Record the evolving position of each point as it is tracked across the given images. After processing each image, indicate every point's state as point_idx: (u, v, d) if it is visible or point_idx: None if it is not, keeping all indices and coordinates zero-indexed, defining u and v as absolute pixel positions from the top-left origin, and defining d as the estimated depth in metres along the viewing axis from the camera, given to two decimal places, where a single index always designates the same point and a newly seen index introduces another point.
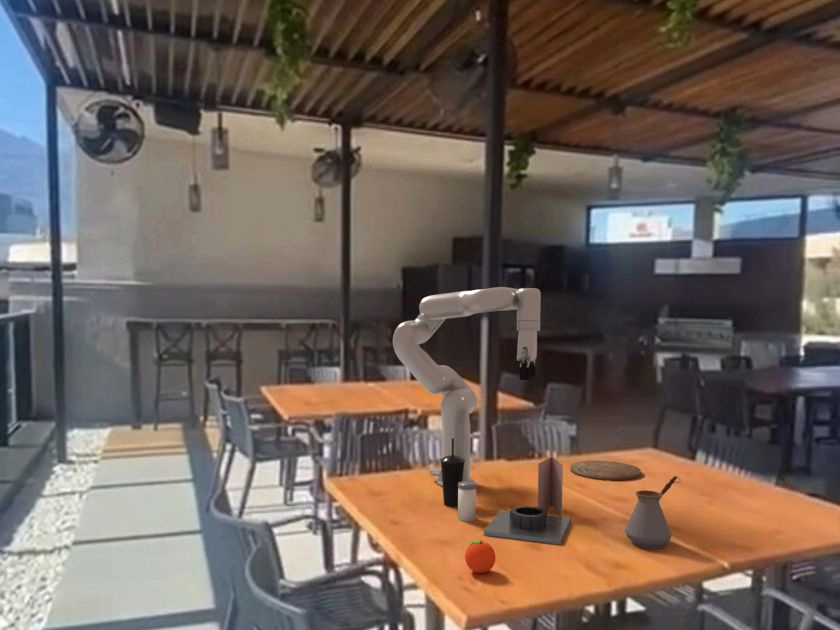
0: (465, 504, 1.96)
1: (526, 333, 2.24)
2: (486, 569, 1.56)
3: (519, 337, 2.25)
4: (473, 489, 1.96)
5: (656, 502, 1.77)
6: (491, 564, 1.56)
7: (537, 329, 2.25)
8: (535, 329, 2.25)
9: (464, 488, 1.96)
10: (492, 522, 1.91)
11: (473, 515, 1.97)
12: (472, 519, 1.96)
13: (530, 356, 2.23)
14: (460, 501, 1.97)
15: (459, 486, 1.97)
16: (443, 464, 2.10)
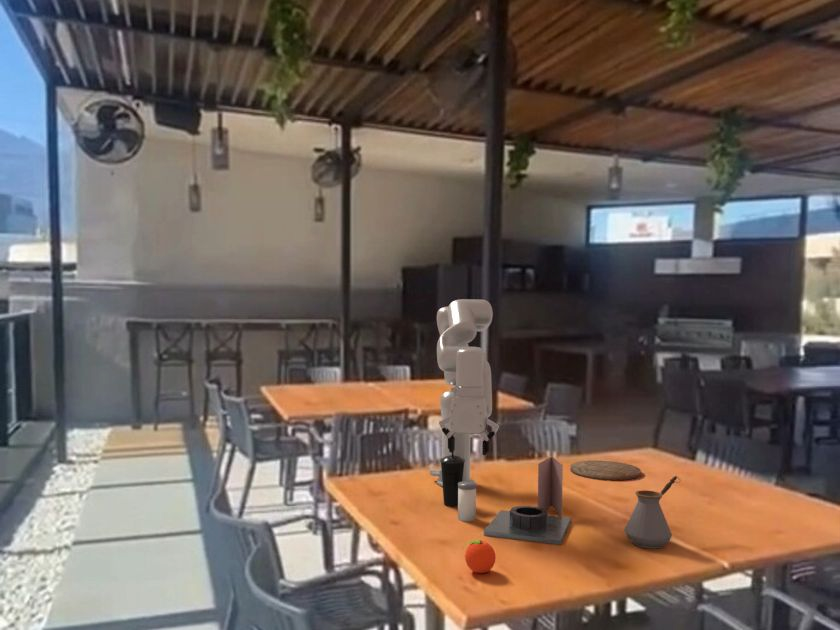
0: (465, 504, 1.96)
1: (484, 401, 1.97)
2: (486, 569, 1.56)
3: (483, 406, 1.95)
4: (473, 489, 1.96)
5: (656, 502, 1.77)
6: (491, 564, 1.56)
7: None
8: None
9: (464, 488, 1.96)
10: (492, 522, 1.91)
11: (473, 515, 1.97)
12: (472, 519, 1.96)
13: None
14: (460, 501, 1.97)
15: (459, 486, 1.97)
16: (443, 464, 2.10)
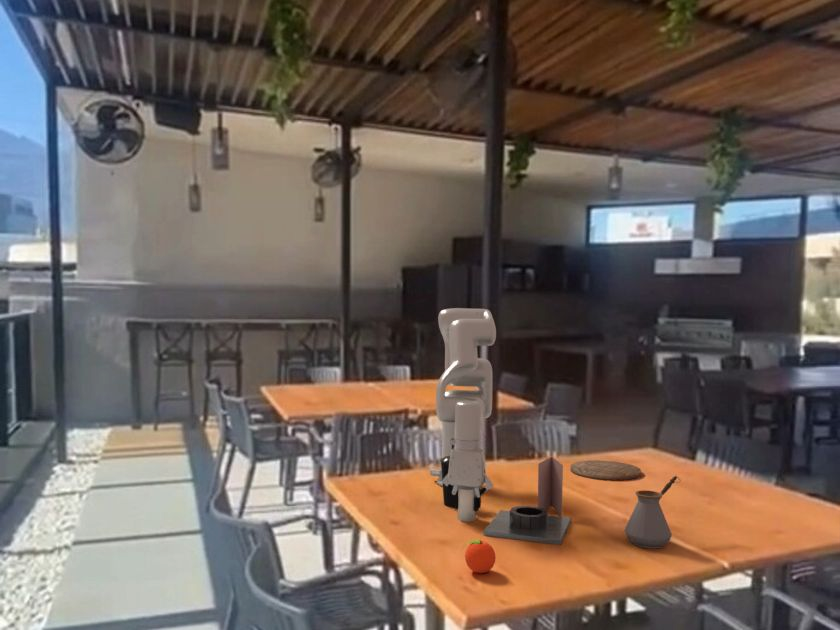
0: (465, 504, 1.96)
1: (483, 454, 1.97)
2: (486, 569, 1.56)
3: (481, 460, 1.95)
4: (473, 489, 1.96)
5: (656, 502, 1.77)
6: (491, 564, 1.56)
7: None
8: None
9: (464, 488, 1.96)
10: (492, 522, 1.91)
11: (473, 515, 1.96)
12: (472, 519, 1.96)
13: None
14: (460, 501, 1.97)
15: (459, 486, 1.97)
16: (443, 464, 2.10)
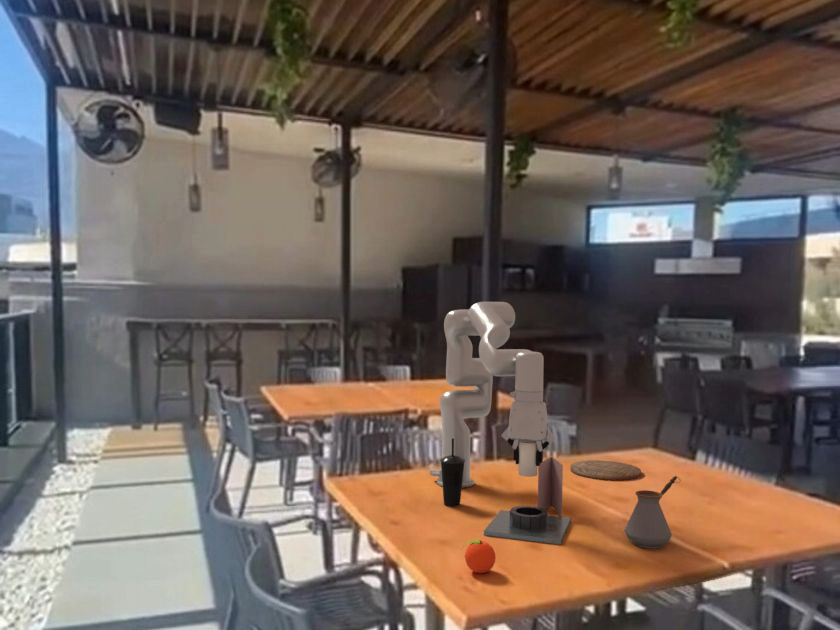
0: (527, 458, 1.88)
1: (545, 406, 1.89)
2: (486, 569, 1.56)
3: (544, 412, 1.87)
4: (535, 442, 1.88)
5: (656, 502, 1.77)
6: (491, 564, 1.56)
7: None
8: None
9: (526, 442, 1.88)
10: (492, 522, 1.91)
11: (535, 470, 1.88)
12: (534, 474, 1.88)
13: None
14: (521, 455, 1.89)
15: (520, 440, 1.89)
16: (443, 464, 2.10)
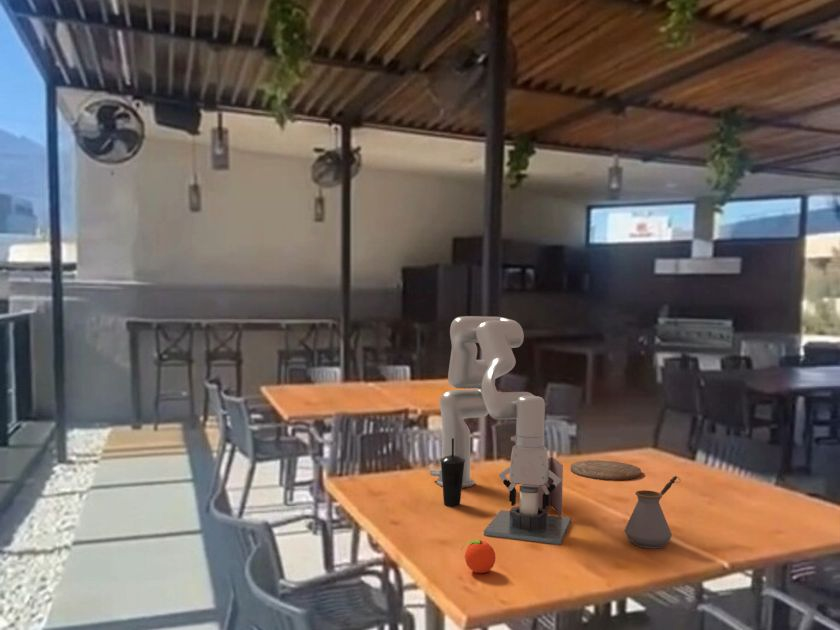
0: (528, 508, 1.88)
1: (546, 451, 1.89)
2: (486, 569, 1.56)
3: (545, 457, 1.87)
4: (536, 492, 1.88)
5: (656, 502, 1.77)
6: (491, 564, 1.56)
7: None
8: None
9: (527, 491, 1.88)
10: (492, 522, 1.91)
11: None
12: None
13: None
14: (522, 505, 1.89)
15: (521, 489, 1.89)
16: (443, 464, 2.10)
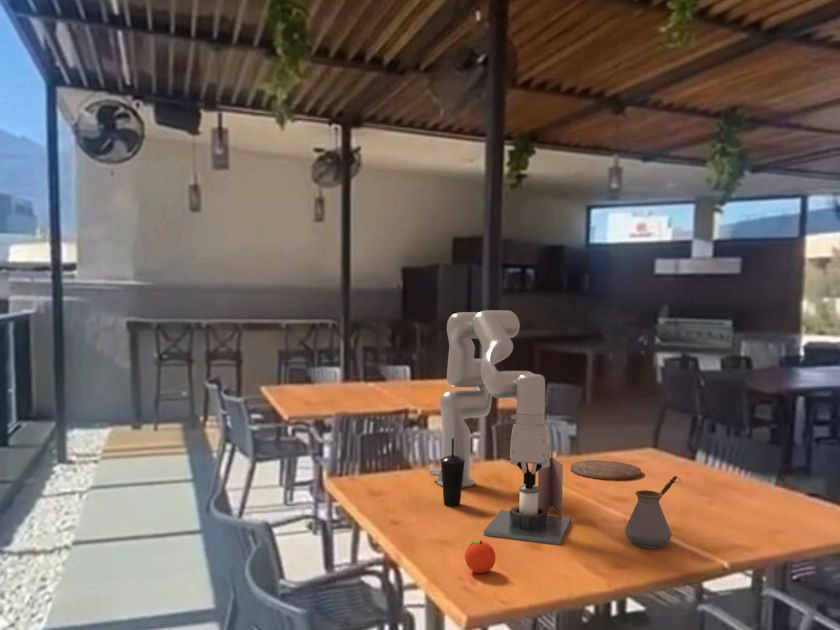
0: (528, 508, 1.88)
1: None
2: (486, 569, 1.56)
3: (545, 435, 1.87)
4: (536, 492, 1.88)
5: (656, 502, 1.77)
6: (491, 564, 1.56)
7: None
8: None
9: (527, 492, 1.88)
10: (492, 522, 1.91)
11: None
12: None
13: None
14: (522, 505, 1.89)
15: (521, 490, 1.89)
16: (443, 464, 2.10)
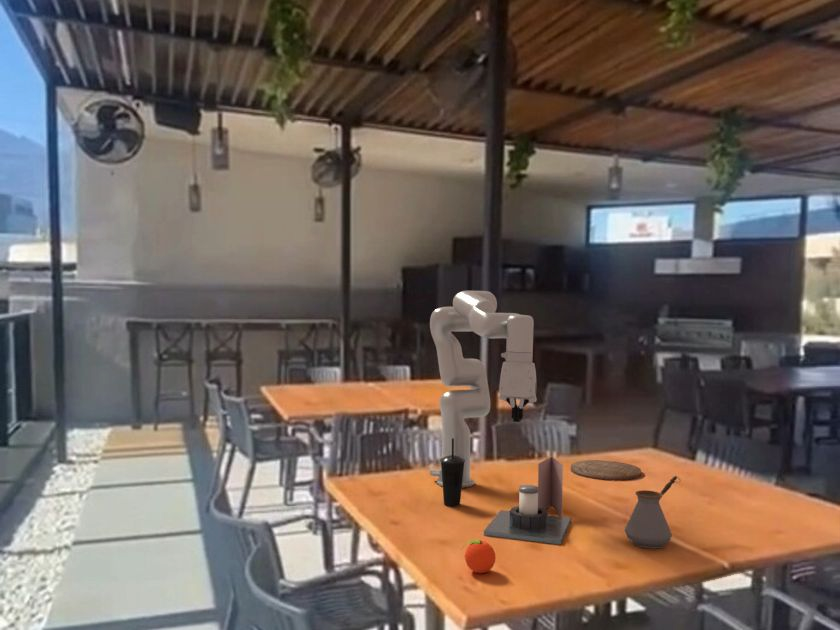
0: (528, 508, 1.88)
1: (534, 366, 2.00)
2: (486, 569, 1.56)
3: (533, 372, 1.98)
4: (535, 493, 1.88)
5: (656, 502, 1.77)
6: (491, 564, 1.56)
7: None
8: None
9: (527, 492, 1.88)
10: (492, 522, 1.91)
11: None
12: None
13: None
14: (522, 506, 1.89)
15: (521, 490, 1.89)
16: (443, 464, 2.10)
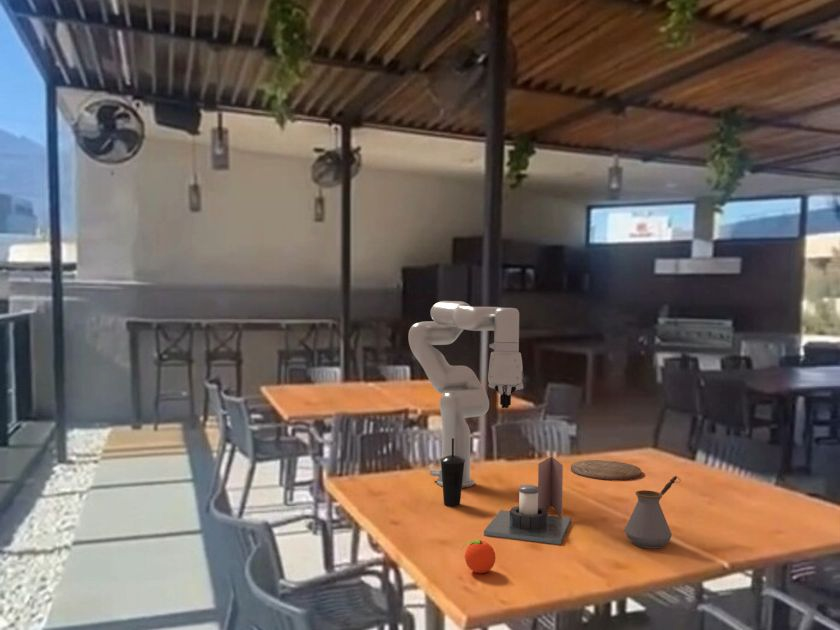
0: (528, 508, 1.88)
1: None
2: (486, 569, 1.56)
3: (519, 360, 2.12)
4: (535, 493, 1.88)
5: (656, 502, 1.77)
6: (491, 564, 1.56)
7: None
8: None
9: (527, 492, 1.88)
10: (492, 522, 1.91)
11: None
12: None
13: None
14: (522, 506, 1.89)
15: (521, 490, 1.89)
16: (443, 464, 2.10)
